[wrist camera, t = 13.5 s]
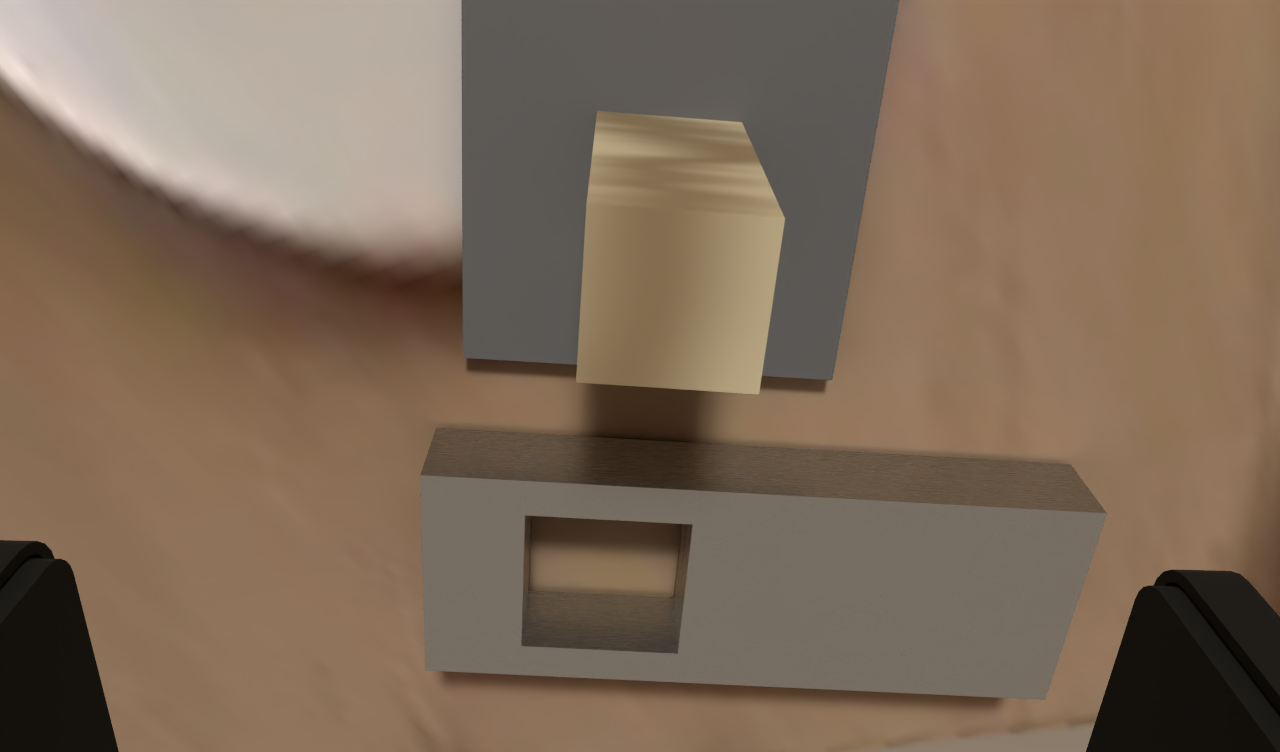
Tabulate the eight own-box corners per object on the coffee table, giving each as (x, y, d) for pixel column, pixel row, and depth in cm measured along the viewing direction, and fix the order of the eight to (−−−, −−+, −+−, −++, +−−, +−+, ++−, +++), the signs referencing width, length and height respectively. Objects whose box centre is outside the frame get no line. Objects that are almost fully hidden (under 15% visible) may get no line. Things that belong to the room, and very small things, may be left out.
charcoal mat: (895, -12, 29) (900, -9, 28) (828, 372, 34) (832, 380, 34) (464, -45, 28) (461, -44, 28) (465, 349, 34) (462, 357, 33)
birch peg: (741, 122, 30) (785, 218, 22) (725, 258, 32) (758, 394, 24) (597, 111, 30) (586, 204, 21) (588, 249, 31) (575, 382, 23)
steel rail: (1070, 464, 36) (1106, 513, 33) (1016, 642, 39) (1044, 699, 37) (436, 428, 35) (420, 475, 32) (439, 613, 38) (425, 670, 36)
